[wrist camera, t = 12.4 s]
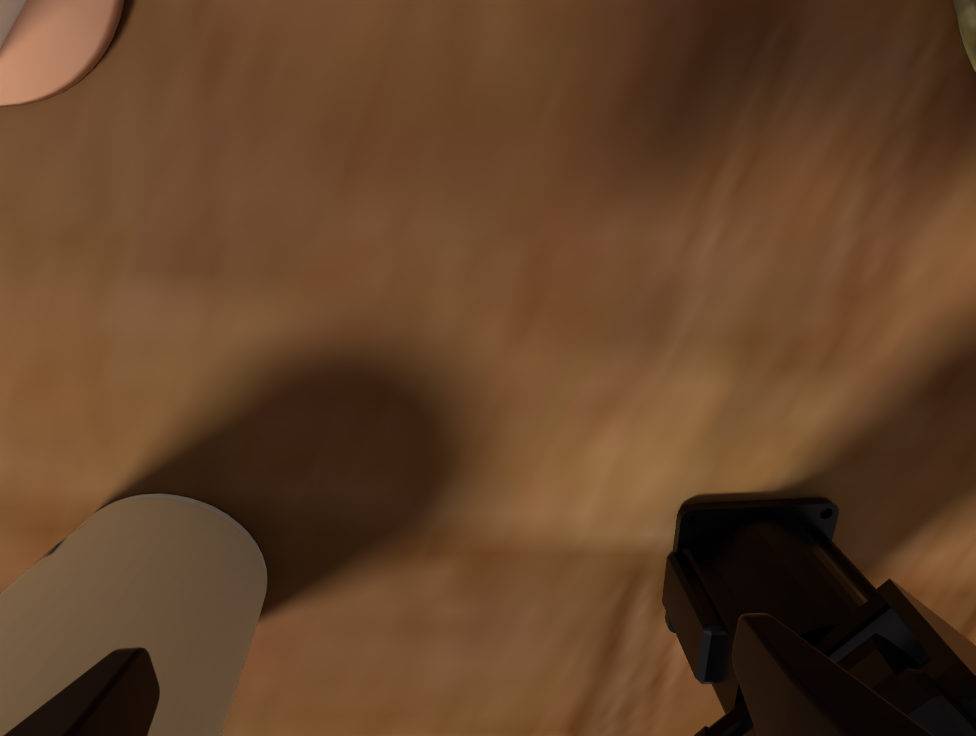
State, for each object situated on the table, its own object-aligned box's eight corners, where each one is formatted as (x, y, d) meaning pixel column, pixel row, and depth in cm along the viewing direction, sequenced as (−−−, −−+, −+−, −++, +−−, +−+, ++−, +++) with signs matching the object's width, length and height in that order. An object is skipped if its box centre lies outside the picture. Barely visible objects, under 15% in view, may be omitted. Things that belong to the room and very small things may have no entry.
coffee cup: (54, 449, 22) (-377, 782, 10) (306, 501, 23) (162, 845, 12) (50, 635, 25) (-284, 1040, 14) (271, 671, 26) (132, 1067, 15)
